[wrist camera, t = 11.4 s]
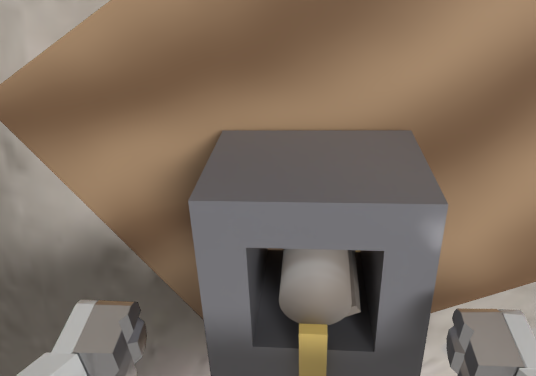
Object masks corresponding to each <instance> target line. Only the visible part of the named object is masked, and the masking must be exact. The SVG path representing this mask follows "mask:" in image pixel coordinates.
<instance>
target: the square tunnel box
mask: <svg viewBox="0 0 536 376" xmlns="http://www.w3.org/2000/svg"><path fill="white" fill-rule="evenodd" d="M188 204H189V211H190V219H191V227H192V234H193V242H194V250H195V257H196V265H197V273H198V280H199V288H200V296H201V303H202V311H203V319H204V326H205V334H206V342H207V349H208V357H209V365H210V372H211V376H420V373H421V367H422V361H423V355H424V349H425V343H426V337H427V331H428V325H429V319H430V313H431V307H432V301H433V295H434V289H435V283H436V276H437V270H438V264H439V258H440V252H441V246H442V240H443V234H444V228H445V222H446V216H447V210H448V203H447V201H446V199H445V197H444V195H443V193H442V191H441V189H440V187H439V185H438V183H437V181H436V179H435V177H434V175H433V173H432V171H431V169H430V167H429V165H428V163H427V161H426V159H425V157H424V155H423V153H422V151H421V149H420V147H419V145H418V143H417V141H416V139H415V137H414V135H413V133H412V131H411V130H236V131H222V133H221V135H220V137H219V139H218V141H217V143H216V145H215V147H214V149H213V151H212V153H211V155H210V157H209V159H208V161H207V163H206V165H205V167H204V169H203V172H202V174H201V176H200V178H199V180H198V182H197V184H196V186H195V188H194V190H193V192H192V194H191V196H190V198H189V200H188ZM268 248H282V249H325V250H360V252H356V263H357V274H358V286H359V297H360V309H361V312H359V313H356V314H353V315H350V316H347V317H344V318H343V319H342V320H340V321H338V322H336V323H334V324H331V325H326V324H300V323H297V322H295V321H293V320H291V319H290V318H288V317H287V316H286V315H285V314H284V313H283V311H282V310H281V308H280V305H279V293H280V282H281V272H282V261H283V250H268Z"/></svg>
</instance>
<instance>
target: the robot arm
mask: <svg viewBox="0 0 536 376" xmlns="http://www.w3.org/2000/svg"><path fill="white" fill-rule="evenodd" d="M140 311H141V310H140V307H139V304H138V302H125V301H105V300H80V301H79V302H78V303H77V304H76V305H75V306H74V308H73V310H72V312H71V314H70V316H69V318H68V320H67V322H66V324H65V326H64V328H63V330H62V332H61V334H60V336H59V338H58V340H57V342H56V344H55V345H54V347H53V349H52V351H51V353H44V354H43V355H42V356H40V357H39V358H38V359H36V360H35V361H34V362H33V363H31V364H30V365H29V366H27V367H26V368H25V369H24V370H22V371H21V372H20V373H18V374H17V375H16V376H136V375H137V370H136V367H135V363H136V362H137V361H138V360H140V359H141V358H142V356H143V353H144V350H145V345H146V337H147V334H146V326H145V322H144V321H143V320H142V319H140V318H139V314H140ZM452 319H453V323H454V326H453V327H452V328H450V329H449V331H448V335H447V354H448V359H449V363H450V367H451V368H452V369H453V370H454V371H455V372H456V373H457V374H458V376H536V338H535V336H534V334H533V332H532V329H531V327H530V325H529V323H528V321H527V319H526V317H525V315H524V313H523V312H522V311H521V310H497V309H456V310H455V311H454V314H453V317H452Z"/></svg>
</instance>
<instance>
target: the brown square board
mask: <svg viewBox="0 0 536 376" xmlns="http://www.w3.org/2000/svg"><path fill="white" fill-rule="evenodd" d="M0 121H1V122H2V123H3V124H4V125H5V126H6V127H7V128H8V129H9V130H10V131H11V132H12V133H13V134H14V135H15V136H16V137H17V138H18V139H19V140H21V141H22V142H23V143H24V144H25V145H26V146H27V147H28V148H29V149H30V150H31V151H32V152H33V153H34V154H35V155H36V156H37V157H38V158H39V159H40V160H41V161H42V162H43V163H44V164H45V165H46V166H47V167H48V168H49V169H50V170H51V171H52V172H53V173H54V174H55V175H56V176H57V177H58V178H59V179H60V180H61V181H62V182H63V183H64V184H65V185H66V186H67V187H68V188H69V189H70V190H72V191H73V192H74V193H75V194H76V195H77V196H78V197H79V198H80V199H81V200H82V201H83V202H84V203H85V204H86V205H87V206H88V207H89V208H90V209H91V210H92V211H93V212H94V213H95V214H96V215H97V216H98V217H99V218H100V219H101V220H102V221H103V222H104V223H105V224H106V225H107V226H108V227H109V228H110V229H111V230H112V231H113V232H114V233H115V234H116V235H117V236H118V237H119V238H120V239H122V240H123V241H124V242H125V243H126V244H127V245H128V246H129V247H130V248H131V249H132V250H133V251H134V252H135V253H136V254H137V255H138V256H139V257H140V258H141V259H142V260H143V261H144V262H145V263H146V264H147V265H148V266H149V267H150V268H151V269H152V270H153V271H154V272H155V273H156V274H157V275H158V276H159V277H160V278H161V279H162V280H163V281H164V282H165V283H166V284H167V285H168V286H169V287H170V288H171V289H173V290H174V291H175V292H176V293H177V294H178V295H179V296H180V297H181V298H182V299H183V300H184V301H185V302H186V303H187V304H188V305H189V306H190V307H191V308H192V309H193V310H194V311H195V312H196V313H197V314H198V315H199V316H200V317H201V318H202V319H203V311H202V303H201V296H200V288H199V280H198V273H197V265H196V257H195V250H194V242H193V234H192V227H191V219H190V211H189V204H188V200H189V198H190V196H191V194H192V192H193V190H194V188H195V186H196V184H197V182H198V180H199V178H200V176H201V174H202V172H203V169H204V167H205V165H206V163H207V161H208V159H209V157H210V155H211V153H212V151H213V149H214V147H215V145H216V143H217V141H218V139H219V137H220V135H221V133H222V131H236V130H411V131H412V133H413V135H414V137H415V139H416V141H417V143H418V145H419V147H420V149H421V151H422V153H423V155H424V157H425V159H426V161H427V163H428V165H429V167H430V169H431V171H432V173H433V175H434V177H435V179H436V181H437V183H438V185H439V187H440V189H441V191H442V193H443V195H444V197H445V199H446V201H447V203H448V210H447V216H446V222H445V228H444V234H443V240H442V246H441V252H440V258H439V264H438V270H437V276H436V283H435V289H434V295H433V301H432V307H431V313H433V312H436V311H440V310H443V309H446V308H449V307H453V306H456V305H459V304H463V303H466V302H469V301H473V300H476V299H479V298H483V297H486V296H489V295H493V294H496V293H499V292H503V291H506V290H509V289H513V288H516V287H519V286H523V285H526V284H529V283H533V282H536V0H110V1H109V2H108V3H106V4H105V5H104V6H102V7H101V8H100V9H98V10H97V11H96V12H95V13H93V14H92V15H91V16H89V17H88V18H87V19H85V20H84V21H83V22H81V23H80V24H79V25H78V26H76V27H75V28H74V29H72V30H71V31H70V32H68V33H67V34H66V35H64V36H63V37H62V38H60V39H59V40H58V41H57V42H55V43H54V44H53V45H51V46H50V47H49V48H47V49H46V50H45V51H43V52H42V53H41V54H39V55H38V56H37V57H36V58H34V59H33V60H32V61H30V62H29V63H28V64H26V65H25V66H24V67H22V68H21V69H20V70H18V71H17V72H16V73H15V74H13V75H12V76H11V77H9V78H8V79H7V80H5V81H4V82H3V83H1V84H0ZM268 250H283V261H282V272H281V282H280V293H279V305H280V308H281V310H282V311H283V313H284V314H285V315H286V316H287V317H288V318H290V319H291V320H293V321H295V322H297V323H300V324H326V325H331V324H334V323H336V322H338V321H340V320H342V319H343V318H344V317H347V316H350V315H353V314H356V313H359V312H361V309H360V297H359V286H358V274H357V263H356V252H360V250H325V249H282V248H268ZM203 320H204V319H203Z"/></svg>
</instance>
